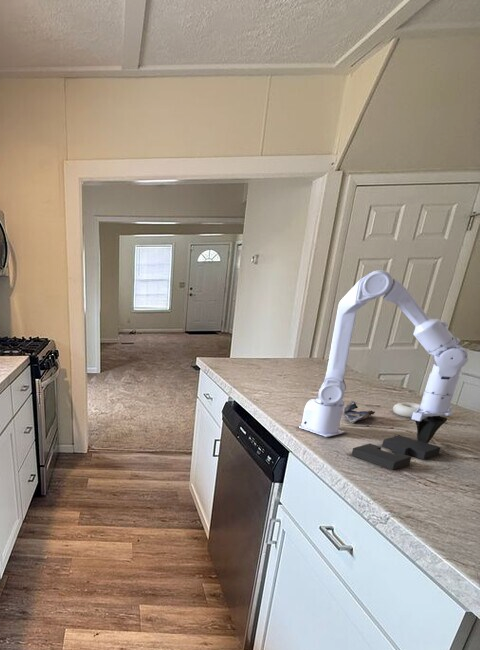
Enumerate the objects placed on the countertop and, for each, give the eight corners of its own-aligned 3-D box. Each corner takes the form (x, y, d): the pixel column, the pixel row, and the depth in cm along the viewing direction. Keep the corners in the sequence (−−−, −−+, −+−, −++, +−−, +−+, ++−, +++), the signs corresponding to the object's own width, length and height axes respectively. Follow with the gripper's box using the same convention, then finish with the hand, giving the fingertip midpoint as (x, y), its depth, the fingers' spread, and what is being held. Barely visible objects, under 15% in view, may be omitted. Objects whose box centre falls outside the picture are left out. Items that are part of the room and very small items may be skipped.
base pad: (351, 455, 103) (352, 448, 102) (368, 450, 106) (369, 443, 105) (392, 470, 94) (394, 462, 94) (409, 464, 97) (411, 456, 96)
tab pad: (377, 447, 107) (379, 440, 106) (397, 441, 111) (399, 435, 110) (419, 460, 99) (421, 453, 98) (438, 454, 102) (441, 447, 102)
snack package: (326, 416, 133) (360, 426, 122) (332, 397, 131) (367, 405, 121) (349, 417, 137) (384, 427, 127) (355, 399, 136) (391, 407, 126)
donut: (385, 410, 138) (401, 419, 129) (388, 400, 137) (404, 408, 127) (418, 411, 136) (436, 420, 127) (420, 401, 135) (439, 409, 126)
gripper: (441, 400, 96) (424, 452, 101) (472, 392, 102) (455, 442, 107) (409, 393, 102) (394, 443, 107) (440, 386, 107) (425, 434, 113)
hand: (422, 442), depth 107 cm, fingers closed
